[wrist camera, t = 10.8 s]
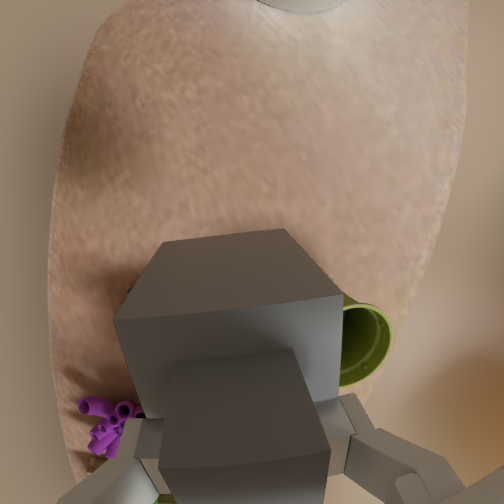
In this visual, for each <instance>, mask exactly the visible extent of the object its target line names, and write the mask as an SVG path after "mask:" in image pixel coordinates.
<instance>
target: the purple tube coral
mask: <svg viewBox="0 0 504 504" xmlns="http://www.w3.org/2000/svg"><path fill="white" fill-rule="evenodd" d="M78 408H79V410H80V412H81V413H83V414H85V415H96V416H100V417H103V418H105V419H104V420H102V421H101V422H100V423H99V424H97V425H96V426H95V427H94V428H93V429H92V430H91V431H90V436H91V437H92V438H93V439H92V440H91V441H90V443H89V445H88V449H90V450H91V451H92V452H93V453H94V454H96V455H97V456H99V455H100V454H101V453H102V452H103V451H104V450H105V449H106V448H107V450H106V454H105V457H107V458H109V459H110V458H115V457H116V453H117V450H118V446H119V442H120V439H121V435H122V432H123V428H124V425H125V422H126V420H127V419H128V418H146V415H145V413H144V410H143V408H142V407H140V406H137V407H134V405H133V404H132V403H131V402H129V401H121V402H119V403H118V404H117V405H115V404H114V403H112V402H110V401H108V400H106V399H103V398H100V397H93V396H88V397H83V398H81V399H80V400H79V401H78Z"/></svg>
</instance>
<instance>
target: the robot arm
mask: <svg viewBox="0 0 504 504" xmlns="http://www.w3.org/2000/svg"><path fill="white" fill-rule="evenodd" d="M259 1H261V2H263V3H265V4H267V5H270V6H272V7H276V8H279V9H283V10H287V11H293V12H320V11H325V10H328V9H331V8H334V7H336V6H338V5H340V4H341V3H343V2H344V1H345V0H259ZM313 403H314V406H315V408H316V411H317V414H318V416H319V419H320V422H321V424H322V427H323V429H324V432H325V435H326V437H327V440H328V442H329V445H330V448H331V455H330V462H329V470H328V476H333V475H338V474H342V473H344V475H346V476H347V477H348V478H350V479H351V480H353V481H354V482H355V483H357V484H358V485H359V486H361V487H362V488H364V489H365V490H367V491H368V492H369V493H371V494H372V495H374V496H375V497H377V498H378V499H380V500H381V501H383V502H384V503H385V504H504V465H502V466H501V467H499V468H498V469H496V470H495V471H493V472H492V473H490V474H488V475H487V476H485V477H484V478H482V479H480V480H479V481H477V482H475V483H474V484H472V485H470V486H469V487H467V488H465V486H464V485H463V483H462V482H461V480H460V479H459V477H458V476H457V475H456V473H455V471H454V470H453V468H452V467H451V465H450V464H449V462H448V461H447V460H446V458H445V457H443V456H441V455H439V454H436V453H434V452H431V451H429V450H427V449H425V448H422V447H420V446H418V445H416V444H413V443H411V442H409V441H407V440H405V439H402V438H400V437H398V436H396V435H394V434H391V433H390V432H388V431H385V430H383V429H381V428H378V429H375V428H374V426H373V424H372V423H371V421H370V419H369V417H368V415H367V414H366V412H365V410H364V408H363V406H362V405H361V403H360V401H359V399H358V398H357V396H356V394H354V393H351V394H346V395H342V396H338V397H334V398H329V399H325V400H320V401H315V402H313ZM164 422H165V418H128V419H127V420H126V422H125V425H124V428H123V432H122V435H121V439H120V442H119V446H118V450H117V453H116V457H115V458H110V459H108V460H107V461H106V462H105V463H104V464H102V465H101V466H100V467H99V468H97V469H96V470H95V471H94V472H93V473H91V474H90V475H89V476H88V477H86V478H85V479H84V480H83V481H81V482H80V483H79V484H78V485H76V486H75V487H74V488H73V489H72V490H70V491H69V492H67V493H66V494H65V495H63V496H62V497H61V498H60V499H58V502H57V504H153V503H154V501H155V500H156V499H157V498H158V496H159V494H171V492H170V490H169V488H168V487H167V485H166V483H165V481H164V479H163V477H162V476H161V474H160V472H159V470H158V461H159V454H160V448H161V441H162V434H163V428H164ZM328 476H327V477H328Z"/></svg>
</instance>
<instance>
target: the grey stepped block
mask: <svg viewBox="0 0 504 504" xmlns="http://www.w3.org/2000/svg"><path fill="white" fill-rule="evenodd" d="M343 297H344V294H343V293H342V292H341V291H340V289H339V288H338V287H337V286H336V285H335V284H334V283H333V282H332V281H331V279H330V278H329V277H328V276H327V275H326V274H325V273H324V272H323V271H322V269H321V268H320V267H319V266H318V265H317V264H316V263H315V262H314V261H313V259H312V258H311V257H310V256H309V255H308V254H307V253H306V252H305V251H304V250H303V249H302V247H301V246H300V245H299V244H298V243H297V242H296V241H295V240H294V239H293V238H292V237H291V236H290V234H289V233H288V232H287V231H286V230H285V229H275V230H266V231H256V232H247V233H238V234H229V235H220V236H211V237H202V238H194V239H185V240H177V241H168V242H163V243H162V244H161V246H160V247H159V248H158V250H157V251H156V253H155V254H154V256H153V257H152V259H151V260H150V262H149V264H148V265H147V267H146V268H145V270H144V271H143V273H142V274H141V276H140V277H139V279H138V280H137V282H136V284H135V285H134V287H133V288H132V290H131V291H130V293H129V295H128V296H127V298H126V299H125V301H124V303H123V304H122V306H121V308H120V309H119V311H118V312H117V314H116V316H115V317H114V319H113V322H114V325H115V328H116V332H117V335H118V339H119V342H120V345H121V348H122V351H123V354H124V358H125V361H126V364H127V367H128V370H129V372H130V375H131V378H132V381H133V384H134V387H135V389H136V392H137V395H138V397H139V400H140V403H141V405H142V408H143V410H144V413H145V415H146V418H165V422H164V428H163V434H162V441H161V448H160V454H159V461H158V470H159V472H160V474H161V476H162V477H163V479H164V481H165V483H166V485H167V487H168V488H169V490H170V492H171V494H172V495H173V497H174V499H175V501H176V502H177V504H323V501H324V495H325V489H326V483H327V476H328V470H329V462H330V455H331V448H330V445H329V442H328V440H327V437H326V435H325V432H324V429H323V427H322V424H321V422H320V419H319V416H318V414H317V411H316V408H315V406H314V403H313V402H315V401H320V400H325V399H329V398H334V397H338V390H339V378H340V364H341V348H342V328H343Z"/></svg>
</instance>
